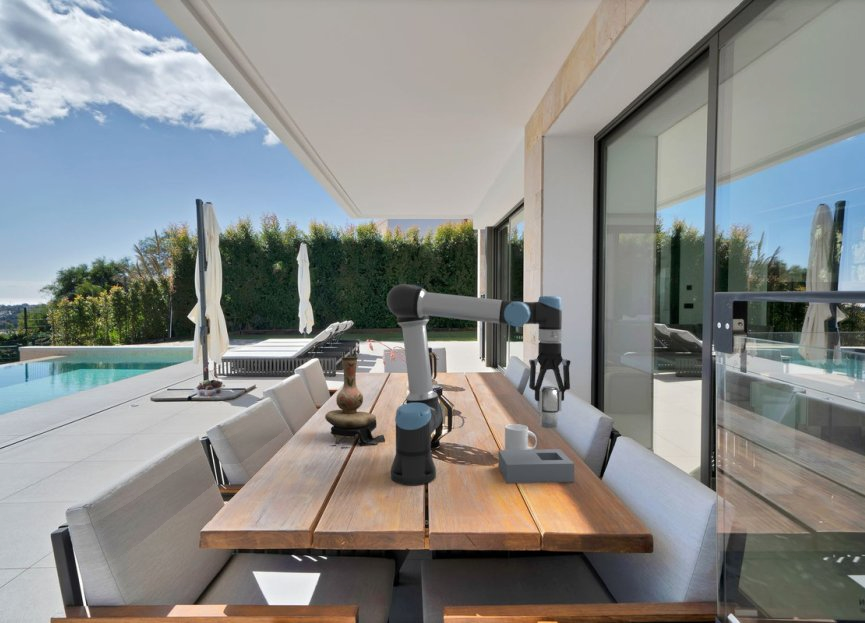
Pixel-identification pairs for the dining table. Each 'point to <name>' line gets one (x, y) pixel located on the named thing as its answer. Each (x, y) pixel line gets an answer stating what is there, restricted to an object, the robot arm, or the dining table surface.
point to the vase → (352, 410)
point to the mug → (517, 437)
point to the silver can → (549, 407)
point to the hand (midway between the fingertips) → (549, 410)
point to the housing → (535, 466)
